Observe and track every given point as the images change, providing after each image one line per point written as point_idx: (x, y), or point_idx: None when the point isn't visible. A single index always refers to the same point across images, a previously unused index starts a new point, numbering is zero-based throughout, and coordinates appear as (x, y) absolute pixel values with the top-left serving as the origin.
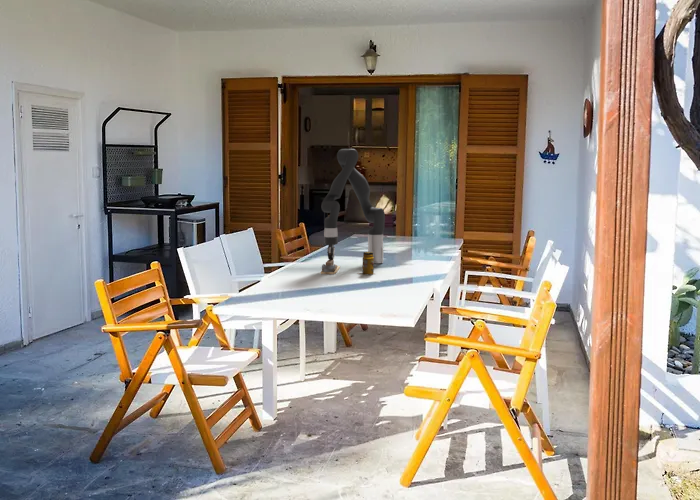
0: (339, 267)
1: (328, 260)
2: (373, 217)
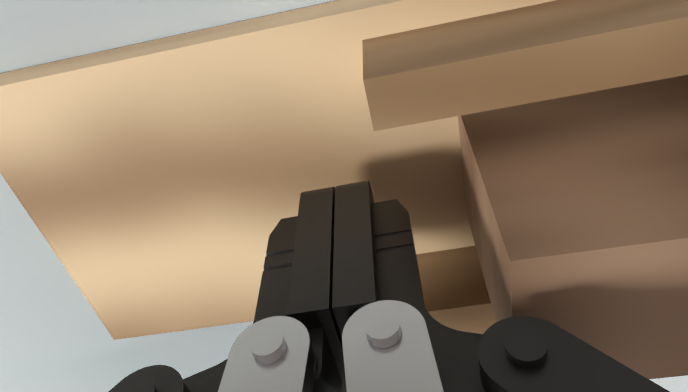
0: (75, 64)
1: None
2: None
